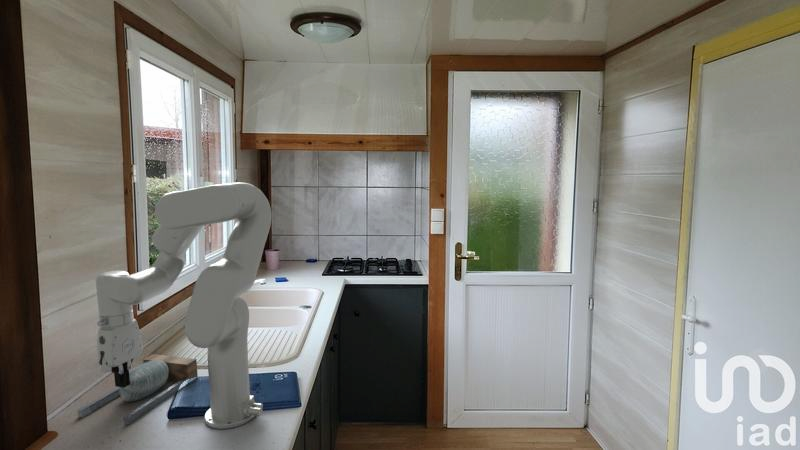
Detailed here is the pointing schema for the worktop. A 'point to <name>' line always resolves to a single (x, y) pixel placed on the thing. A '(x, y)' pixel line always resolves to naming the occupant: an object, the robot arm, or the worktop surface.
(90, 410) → the guide rails
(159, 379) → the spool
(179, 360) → the end stop
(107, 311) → the robot arm
